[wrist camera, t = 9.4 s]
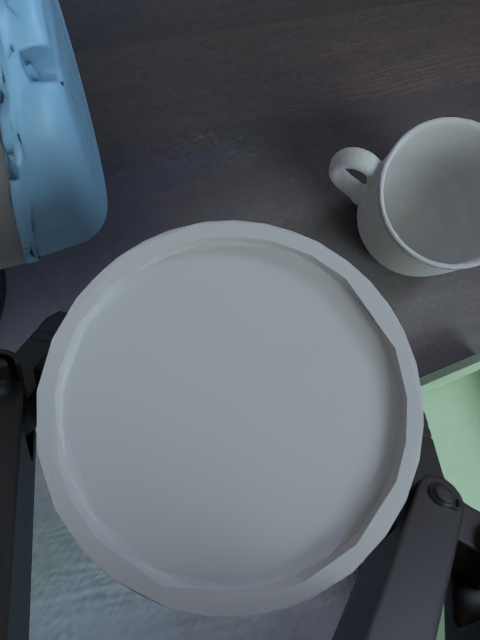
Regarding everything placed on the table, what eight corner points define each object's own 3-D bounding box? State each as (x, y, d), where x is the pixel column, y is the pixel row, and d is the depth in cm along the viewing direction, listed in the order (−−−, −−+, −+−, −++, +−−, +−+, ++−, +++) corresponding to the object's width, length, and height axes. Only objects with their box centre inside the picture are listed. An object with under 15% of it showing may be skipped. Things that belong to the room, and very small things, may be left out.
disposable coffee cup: (100, 403, 20) (-83, 467, 8) (207, 258, 21) (185, 123, 9) (249, 510, 20) (290, 741, 8) (350, 358, 21) (521, 356, 9)
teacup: (482, 211, 35) (558, 167, 27) (426, 311, 34) (489, 296, 26) (351, 132, 35) (388, 65, 27) (291, 229, 34) (311, 188, 26)
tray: (306, 425, 32) (313, 431, 29) (475, 353, 33) (497, 353, 31) (393, 641, 31) (410, 668, 28) (567, 557, 32) (599, 575, 29)
